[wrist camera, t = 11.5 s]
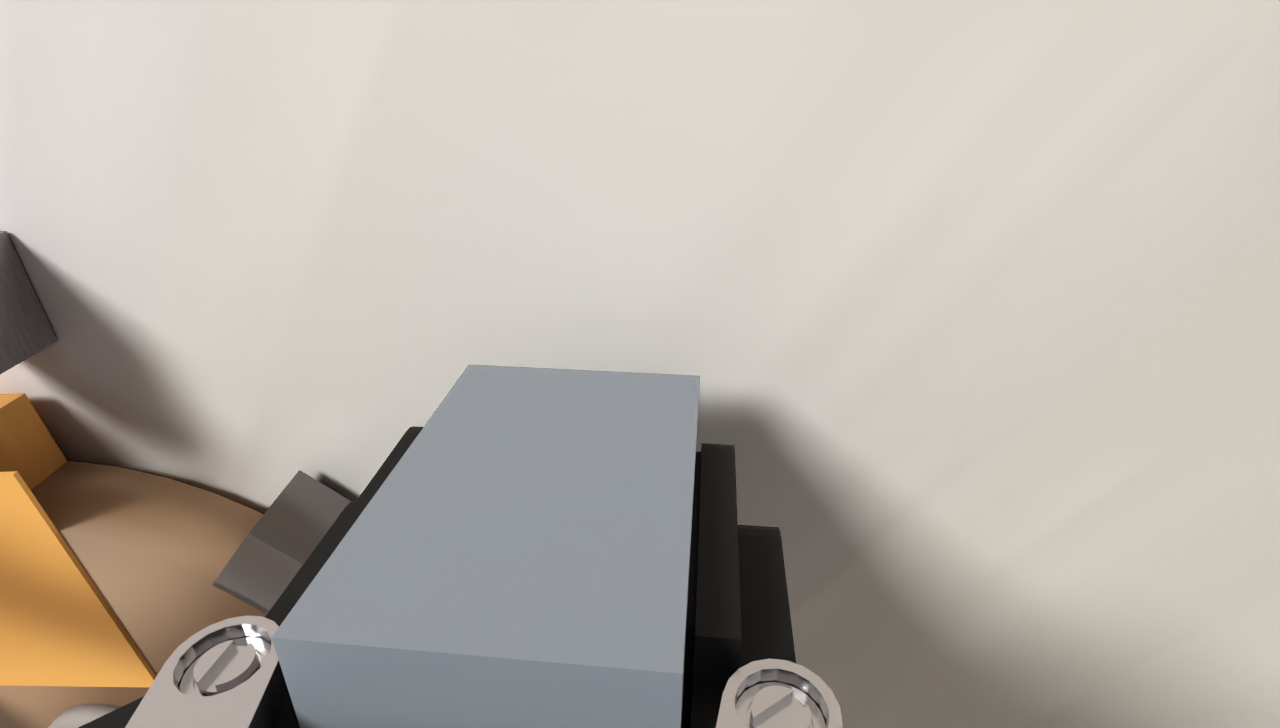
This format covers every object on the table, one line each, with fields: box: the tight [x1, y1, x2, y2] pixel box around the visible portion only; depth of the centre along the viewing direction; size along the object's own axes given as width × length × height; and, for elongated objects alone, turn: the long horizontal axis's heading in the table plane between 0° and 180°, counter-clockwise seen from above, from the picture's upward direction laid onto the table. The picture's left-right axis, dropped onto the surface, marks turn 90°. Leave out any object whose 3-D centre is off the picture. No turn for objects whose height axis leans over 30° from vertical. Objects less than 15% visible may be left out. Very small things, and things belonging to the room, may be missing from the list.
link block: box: [271, 365, 700, 728], centre depth 11 cm, size 6×4×6 cm, turn 0°
